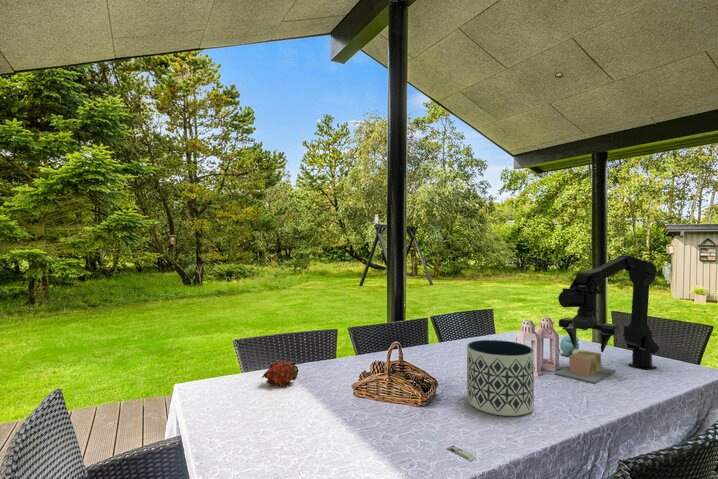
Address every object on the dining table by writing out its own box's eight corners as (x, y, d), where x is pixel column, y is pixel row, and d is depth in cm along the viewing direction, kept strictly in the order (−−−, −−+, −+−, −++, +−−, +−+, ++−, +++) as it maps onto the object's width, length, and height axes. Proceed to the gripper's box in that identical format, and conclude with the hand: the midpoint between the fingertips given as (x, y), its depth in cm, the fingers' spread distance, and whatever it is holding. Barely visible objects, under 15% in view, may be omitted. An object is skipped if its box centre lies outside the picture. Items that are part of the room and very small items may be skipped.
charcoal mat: (577, 363, 155) (577, 362, 155) (615, 371, 145) (615, 370, 145) (554, 374, 142) (554, 372, 142) (594, 384, 132) (594, 382, 133)
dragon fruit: (301, 388, 133) (265, 397, 129) (295, 367, 140) (260, 376, 136) (302, 372, 128) (264, 382, 124) (295, 351, 135) (259, 360, 131)
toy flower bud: (581, 341, 158) (557, 332, 169) (580, 363, 158) (556, 353, 169) (595, 340, 160) (570, 331, 171) (593, 361, 160) (569, 352, 172)
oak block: (583, 350, 150) (569, 355, 142) (600, 353, 146) (587, 359, 138) (583, 366, 150) (569, 372, 142) (600, 370, 145) (587, 377, 138)
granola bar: (477, 460, 86) (477, 455, 86) (470, 463, 85) (470, 458, 85) (452, 447, 92) (452, 443, 92) (445, 450, 90) (445, 446, 90)
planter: (501, 422, 103) (501, 359, 104) (454, 399, 120) (453, 343, 120) (548, 409, 112) (548, 350, 112) (498, 389, 128) (498, 337, 128)
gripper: (551, 305, 148) (552, 348, 148) (608, 312, 134) (609, 359, 133) (564, 302, 155) (565, 343, 155) (619, 308, 141) (620, 353, 141)
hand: (588, 349), depth 146 cm, fingers open, 9 cm apart
